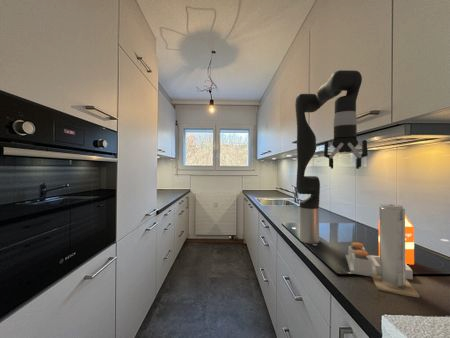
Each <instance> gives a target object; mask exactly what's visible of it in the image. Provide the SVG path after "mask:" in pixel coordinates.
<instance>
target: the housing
mask: <svg viewBox="0 0 450 338" xmlns="http://www.w3.org/2000/svg"><path fill="white" fill-rule="evenodd" d="M362 250H364V251H366V252H367V250H366V249H365V247H364V246H363V248H362ZM345 259H346V263H347V266H348V269H349V273H350V272H351V273H350V274H354V275H358V276H359V275H360V276H367V277H371V275H380V256H379V255H373V254H370V255H368V256H366V260H365V259H358V258H356V254H355V253H354V250H353V247H352V246H351V245H348V254H345ZM413 277H414V276H413V270H412V268H411V267H410V266H409V265H407V264H406V263H405V279H407V280H413V281H414V278H413Z"/></svg>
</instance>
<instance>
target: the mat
mask: <svg viewBox="0 0 450 338" xmlns="http://www.w3.org/2000/svg"><path fill="white" fill-rule="evenodd" d="M370 277H371V279H372V281H373V283H374V285H375V287H376V289H377V291H379V292H386V293H389V294H397V295H400V296H401V295H402V296H407V297H414V298H420V294H419V293H418V292H417V291H416V289H415V288H414V287H413V286H412V285H411V283H410V282H409V279H405V284H406V287H405V288H403V289H396V288H392V287H389V286H386V285H384V284H383V283H381V281H380V275H379V274H377V275H371V276H370Z"/></svg>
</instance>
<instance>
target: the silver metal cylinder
mask: <svg viewBox="0 0 450 338" xmlns="http://www.w3.org/2000/svg"><path fill="white" fill-rule="evenodd" d="M405 215H406V209H405V208H404V206H403V205H401V204H396V203H395V204H393V203H382V204H380V206H379V220H380V281H381V283H383V284H384V285H386V286H389V287H392V288H396V289H403V288H405V287H406V284H405Z"/></svg>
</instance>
